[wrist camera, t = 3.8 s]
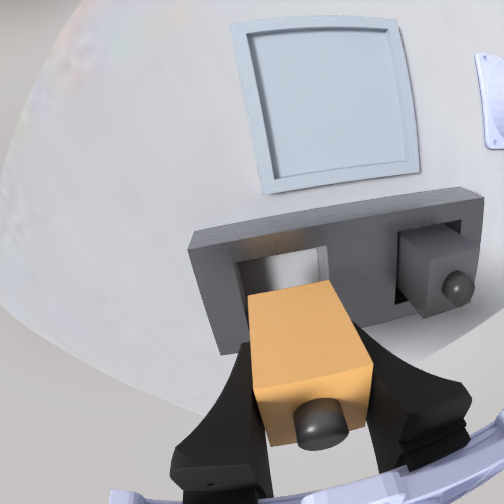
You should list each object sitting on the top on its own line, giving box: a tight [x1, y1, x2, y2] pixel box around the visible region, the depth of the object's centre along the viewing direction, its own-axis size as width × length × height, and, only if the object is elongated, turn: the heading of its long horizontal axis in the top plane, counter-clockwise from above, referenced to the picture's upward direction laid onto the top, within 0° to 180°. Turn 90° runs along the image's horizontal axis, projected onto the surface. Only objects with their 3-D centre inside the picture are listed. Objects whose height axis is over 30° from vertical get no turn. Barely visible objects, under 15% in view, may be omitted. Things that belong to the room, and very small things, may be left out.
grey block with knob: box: [396, 223, 480, 319], centre depth 17 cm, size 4×4×7 cm
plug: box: [248, 280, 373, 451], centre depth 12 cm, size 4×4×7 cm
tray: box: [229, 16, 420, 195], centre depth 16 cm, size 11×11×1 cm
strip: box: [188, 187, 484, 355], centre depth 19 cm, size 20×8×3 cm, turn 100°
